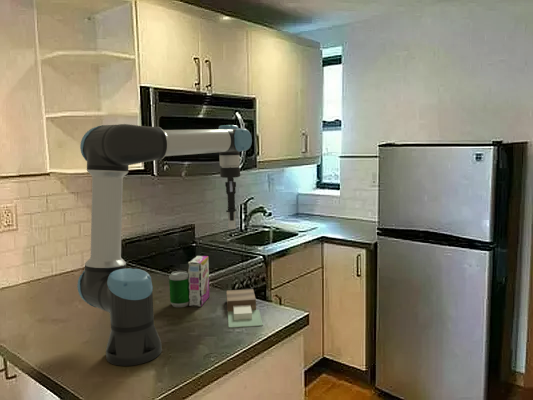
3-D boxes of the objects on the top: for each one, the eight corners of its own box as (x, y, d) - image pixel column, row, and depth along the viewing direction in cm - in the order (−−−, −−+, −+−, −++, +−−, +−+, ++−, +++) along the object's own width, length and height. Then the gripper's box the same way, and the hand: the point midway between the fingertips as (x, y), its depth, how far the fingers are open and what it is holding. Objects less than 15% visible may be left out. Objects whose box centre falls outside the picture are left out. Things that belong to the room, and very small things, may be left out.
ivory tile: (252, 318, 153) (252, 313, 153) (234, 319, 152) (234, 314, 152) (250, 310, 161) (250, 304, 160) (233, 311, 160) (233, 305, 160)
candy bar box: (202, 307, 166) (200, 262, 164) (188, 306, 167) (187, 262, 165) (210, 296, 177) (209, 255, 175) (198, 296, 178) (196, 255, 176)
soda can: (189, 307, 165) (187, 275, 164) (168, 308, 165) (166, 276, 164) (192, 300, 173) (191, 269, 171) (172, 301, 173) (171, 270, 171)
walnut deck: (256, 310, 161) (255, 299, 161) (227, 312, 160) (227, 301, 160) (253, 299, 173) (253, 289, 172) (226, 300, 172) (226, 290, 171)
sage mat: (262, 325, 147) (262, 324, 147) (228, 328, 146) (228, 327, 146) (258, 310, 161) (258, 309, 161) (227, 312, 160) (227, 311, 160)
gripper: (240, 167, 166) (242, 231, 169) (239, 165, 179) (240, 225, 182) (220, 167, 165) (222, 232, 168) (219, 166, 178) (221, 226, 181)
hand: (232, 228), depth 175 cm, fingers closed
